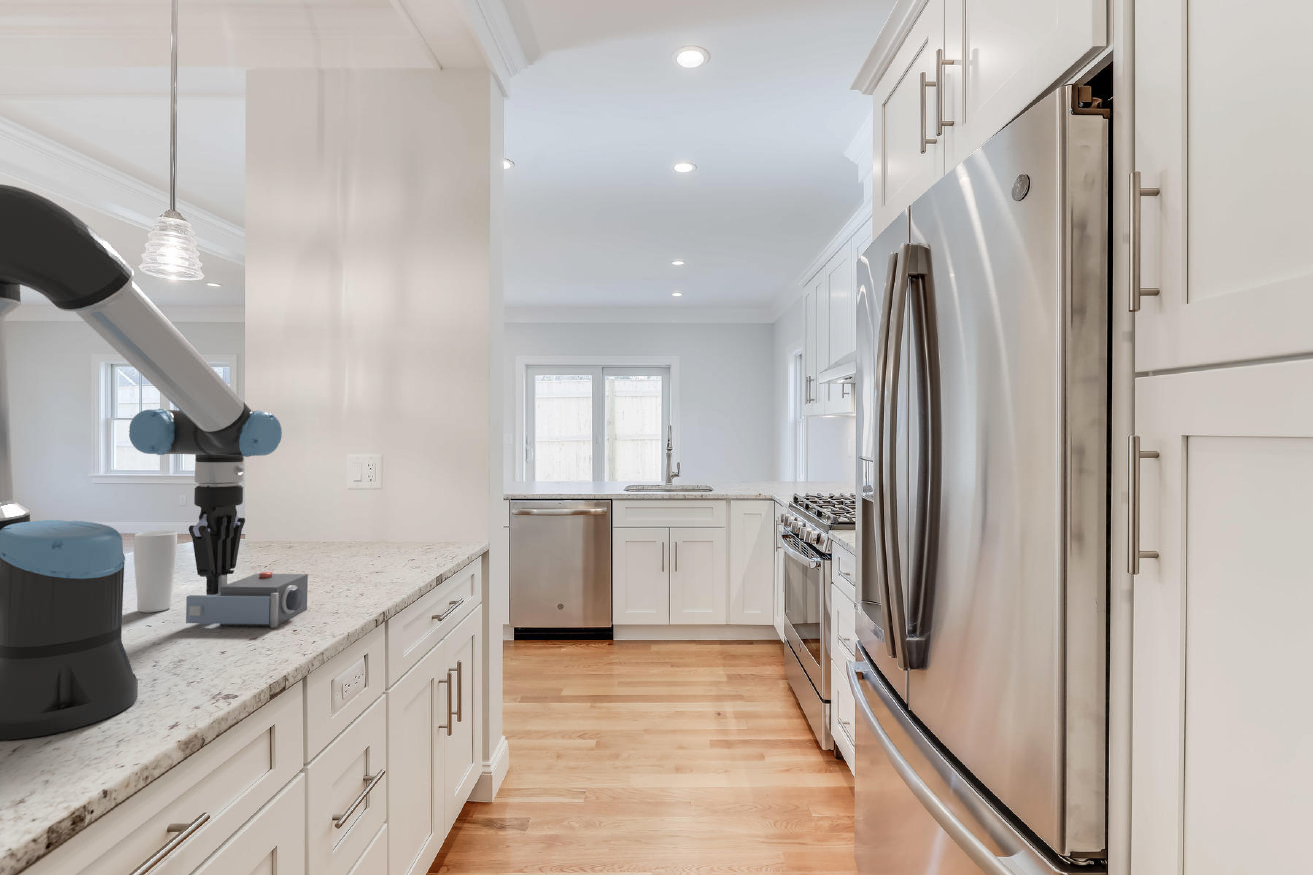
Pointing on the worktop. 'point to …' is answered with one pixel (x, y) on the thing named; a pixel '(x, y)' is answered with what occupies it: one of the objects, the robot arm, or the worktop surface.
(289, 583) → the camera box
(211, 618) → the side door
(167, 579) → the drinking glass
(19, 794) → the worktop surface
